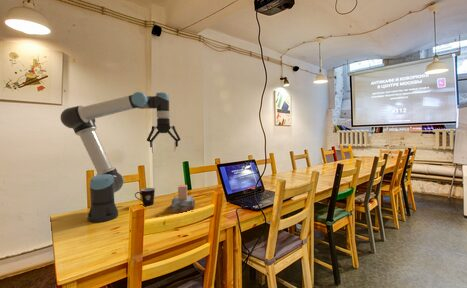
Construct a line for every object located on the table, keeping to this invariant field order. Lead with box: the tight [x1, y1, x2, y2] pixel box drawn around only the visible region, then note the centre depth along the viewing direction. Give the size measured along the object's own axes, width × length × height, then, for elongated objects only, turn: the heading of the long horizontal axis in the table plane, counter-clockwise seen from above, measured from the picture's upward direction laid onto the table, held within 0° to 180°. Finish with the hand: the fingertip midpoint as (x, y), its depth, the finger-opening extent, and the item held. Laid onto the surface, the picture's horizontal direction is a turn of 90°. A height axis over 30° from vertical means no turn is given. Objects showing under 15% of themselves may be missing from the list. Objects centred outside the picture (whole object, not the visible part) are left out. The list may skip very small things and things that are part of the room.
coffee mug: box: [134, 187, 156, 207], centre depth 161 cm, size 12×9×10 cm
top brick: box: [177, 184, 188, 200], centre depth 151 cm, size 5×5×8 cm
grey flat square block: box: [169, 195, 196, 213], centre depth 151 cm, size 14×14×6 cm
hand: (164, 152), depth 153 cm, fingers open, 13 cm apart
